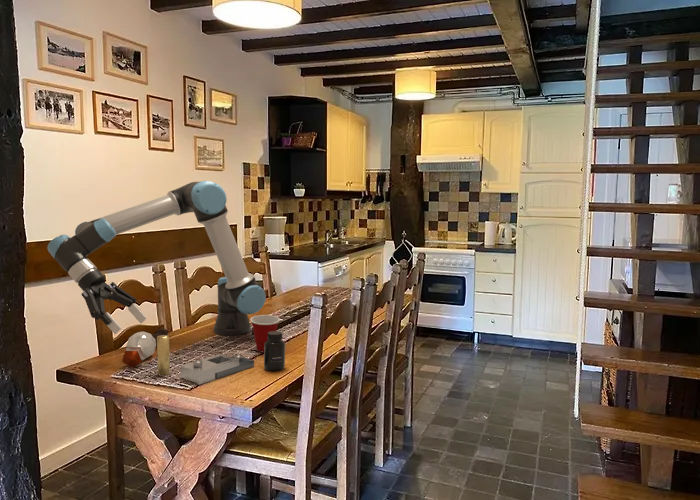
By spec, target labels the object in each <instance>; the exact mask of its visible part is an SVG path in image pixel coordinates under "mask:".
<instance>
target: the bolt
mask: <svg viewBox="0 0 700 500" xmlns="http://www.w3.org/2000/svg"><path fill="white" fill-rule="evenodd" d="M150 334H151V335H152V336H153V337H154V338H155V340H156V347H155V349H157V336H160V335H168V336H169V331H168V330H167V329H165V328H159V329H157V330H156V331H155V333H150Z"/></svg>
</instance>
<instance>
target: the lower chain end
mask: <svg viewBox="0 0 700 500" xmlns="http://www.w3.org/2000/svg"><path fill="white" fill-rule="evenodd" d="M231 357H233V358H236V359H239V366H236V367H233V368H230V369H227V370H223V371H220V372H217V373H215V380H218V379H221V378H224V377H227V376H229V375H232V374H235V373H239V372H241V371H245V370H248V369H251V368H253V367H255V360H254V359H251V358H246V357H243V354H237V353H236V354H234V355H232V356H231ZM219 363H221V362H219ZM219 363H216V364H219Z"/></svg>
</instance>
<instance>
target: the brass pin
mask: <svg viewBox="0 0 700 500" xmlns="http://www.w3.org/2000/svg"><path fill="white" fill-rule="evenodd" d="M156 349H157V350H156V354H157V355H156V356H157V357H156V359H157V375H158V374H160V375H164V376H167V375H166V374H168V375H170V374H171V369H170V367H171V366H170V364H171V363H170V361H171V359H170V335H169V334H168V335H160V336H157V348H156ZM169 373H170V374H169ZM160 375H159V376H160Z"/></svg>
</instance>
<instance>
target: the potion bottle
mask: <svg viewBox="0 0 700 500" xmlns="http://www.w3.org/2000/svg"><path fill="white" fill-rule="evenodd" d="M151 334H152V333H149V332H146V331H138V332H136V333H134V334H132V335H131V336H130V337H128V339H127V343H126V348H125V351H124V354H123V356H122V357H123V358H122V361H121V362H122V363H124V364H125V365H127V366H129V367H131V368H132V367H133V368H134V367H137V365H140V363H142V362H143V361H144V360H145V359H147V358H149V357H150V356H151V355H153V354H155V350H156V348H155V347H156V340H155V338H154V337H153V336H152V335H151Z"/></svg>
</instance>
